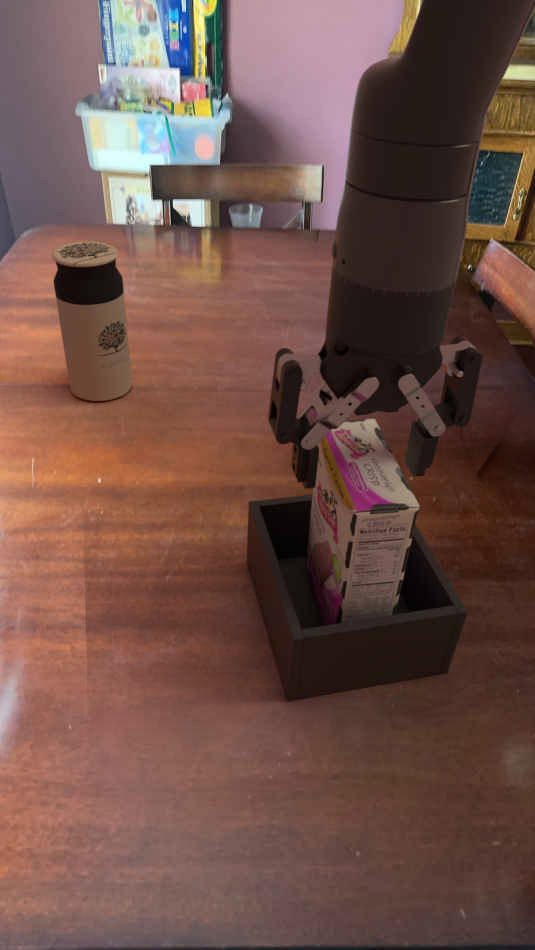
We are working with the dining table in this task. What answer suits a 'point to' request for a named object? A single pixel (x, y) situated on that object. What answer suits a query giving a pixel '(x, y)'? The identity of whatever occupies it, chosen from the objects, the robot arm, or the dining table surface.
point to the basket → (351, 643)
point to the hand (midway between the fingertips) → (361, 475)
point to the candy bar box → (358, 525)
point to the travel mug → (92, 320)
